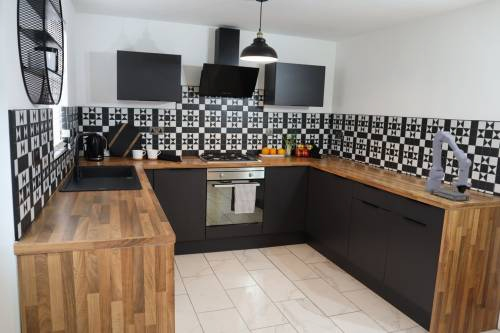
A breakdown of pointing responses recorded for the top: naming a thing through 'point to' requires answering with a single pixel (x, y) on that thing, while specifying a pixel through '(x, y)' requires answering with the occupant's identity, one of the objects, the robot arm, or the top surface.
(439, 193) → the tray
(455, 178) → the teacup with lid
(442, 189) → the shelf
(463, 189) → the robot arm
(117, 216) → the top surface
